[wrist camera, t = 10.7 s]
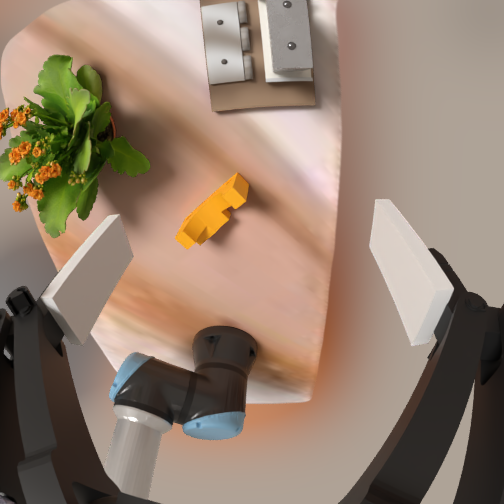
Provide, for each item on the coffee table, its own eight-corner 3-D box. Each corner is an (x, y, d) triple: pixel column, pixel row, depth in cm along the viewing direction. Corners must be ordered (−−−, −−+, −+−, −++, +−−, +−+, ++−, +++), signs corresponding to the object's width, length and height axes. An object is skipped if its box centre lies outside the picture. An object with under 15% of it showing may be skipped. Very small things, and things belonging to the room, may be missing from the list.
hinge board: (313, 104, 35) (316, 106, 33) (213, 110, 36) (210, 112, 35) (302, -21, 24) (304, -26, 22) (200, -13, 25) (196, -17, 23)
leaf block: (303, 70, 31) (313, 67, 24) (272, 71, 32) (273, 68, 24) (296, 5, 26) (304, -15, 18) (265, 6, 26) (264, -15, 19)
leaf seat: (311, 81, 32) (312, 81, 31) (266, 82, 33) (265, 82, 31) (303, -4, 25) (304, -7, 24) (257, -3, 25) (257, -6, 24)
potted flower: (190, 106, 36) (140, 126, 22) (130, 225, 48) (83, 289, 33) (69, 49, 29) (-9, 56, 15) (33, 165, 41) (-29, 207, 27)
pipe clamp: (203, 235, 48) (195, 257, 43) (185, 218, 47) (174, 238, 41) (256, 191, 43) (254, 210, 38) (237, 171, 42) (232, 187, 36)
